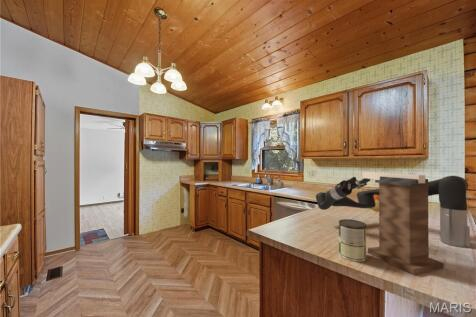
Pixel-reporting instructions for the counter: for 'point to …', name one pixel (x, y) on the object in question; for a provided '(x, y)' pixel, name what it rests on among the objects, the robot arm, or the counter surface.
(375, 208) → the bread
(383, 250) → the stand
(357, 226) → the coffee can
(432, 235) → the counter surface
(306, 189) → the counter surface
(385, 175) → the slat
